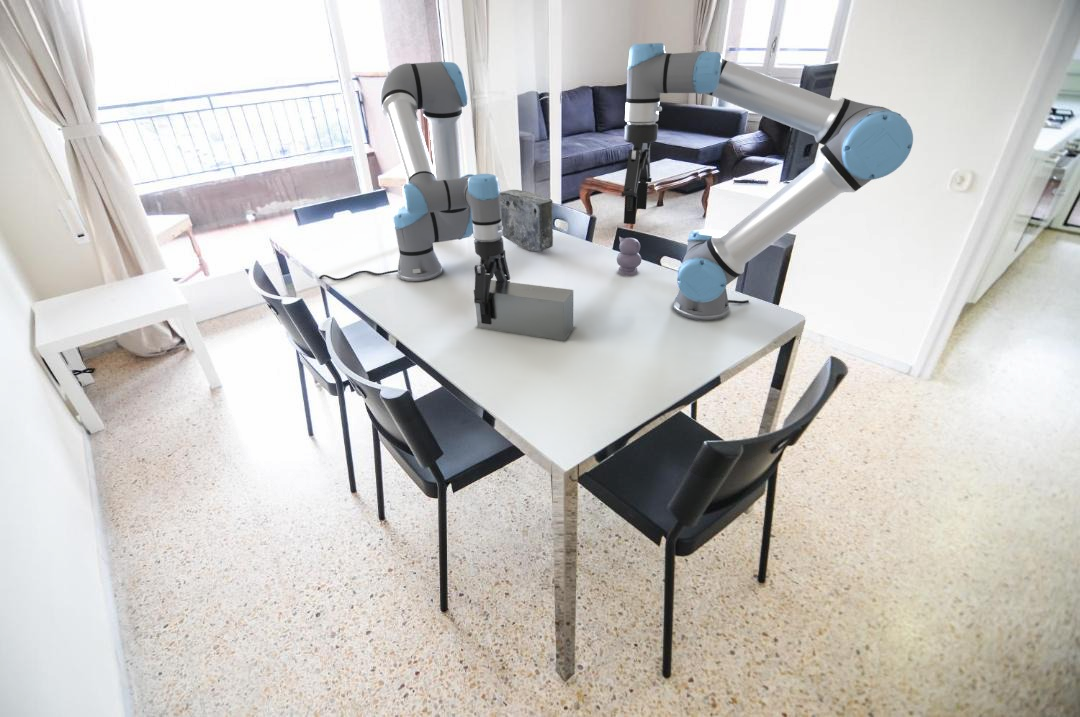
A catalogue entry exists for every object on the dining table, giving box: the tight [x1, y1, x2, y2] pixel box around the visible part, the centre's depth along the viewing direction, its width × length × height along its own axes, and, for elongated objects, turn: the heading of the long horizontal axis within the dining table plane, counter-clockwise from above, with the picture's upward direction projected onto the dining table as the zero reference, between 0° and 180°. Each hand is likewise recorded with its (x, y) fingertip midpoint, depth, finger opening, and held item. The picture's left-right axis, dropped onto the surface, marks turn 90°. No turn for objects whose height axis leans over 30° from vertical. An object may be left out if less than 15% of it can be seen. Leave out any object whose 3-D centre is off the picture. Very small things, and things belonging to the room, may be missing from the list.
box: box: [473, 279, 574, 342], centre depth 136 cm, size 26×8×11 cm, turn 69°
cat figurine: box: [616, 236, 642, 277], centre depth 167 cm, size 9×8×12 cm
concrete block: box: [500, 189, 554, 252], centre depth 191 cm, size 27×9×20 cm, turn 36°
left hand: (495, 314), depth 140 cm, fingers open, 10 cm apart
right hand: (635, 215), depth 125 cm, fingers open, 13 cm apart
